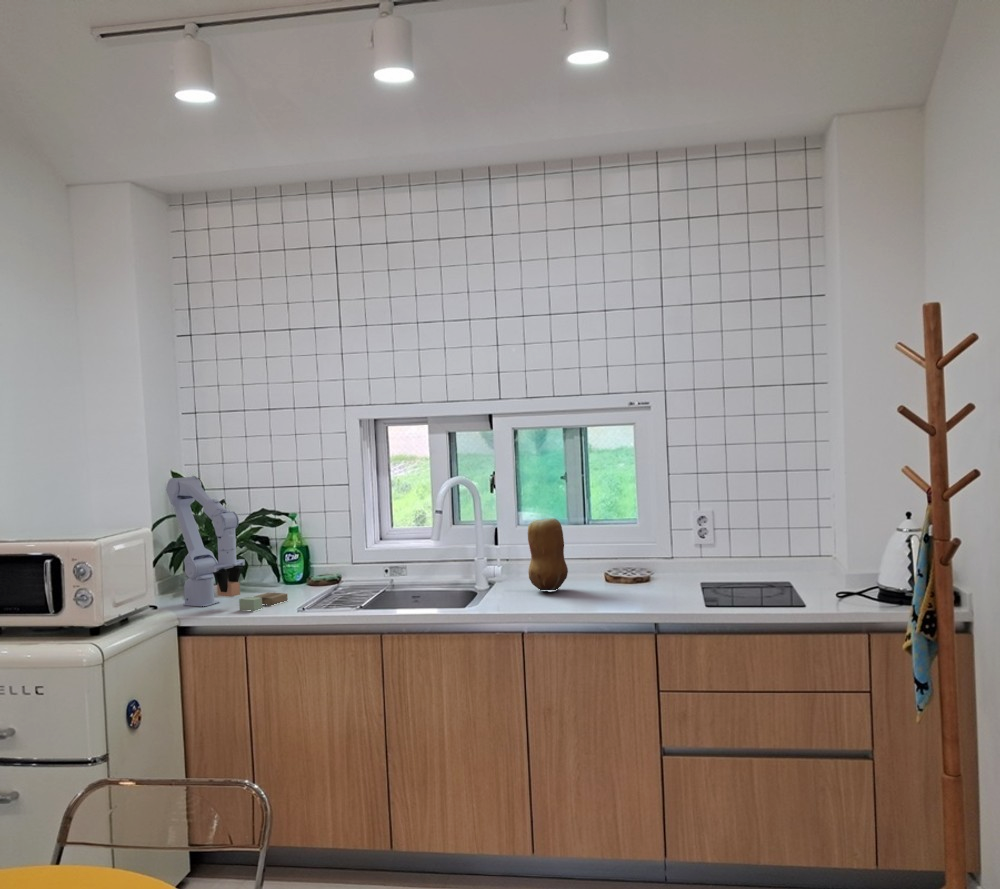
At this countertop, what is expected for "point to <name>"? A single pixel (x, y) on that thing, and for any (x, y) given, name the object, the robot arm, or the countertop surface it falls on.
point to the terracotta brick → (230, 589)
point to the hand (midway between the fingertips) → (228, 590)
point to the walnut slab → (272, 598)
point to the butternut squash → (546, 554)
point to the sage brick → (250, 603)
